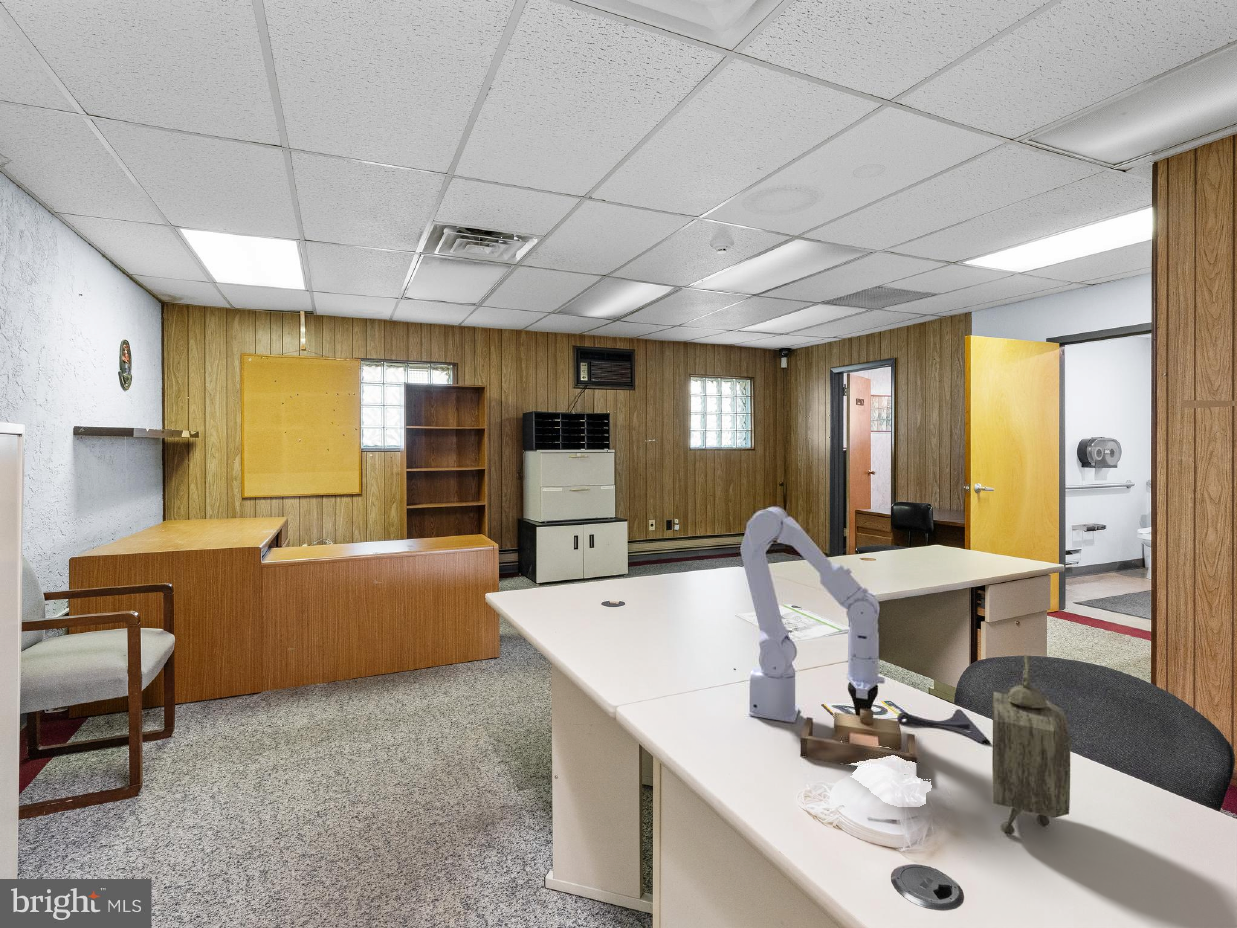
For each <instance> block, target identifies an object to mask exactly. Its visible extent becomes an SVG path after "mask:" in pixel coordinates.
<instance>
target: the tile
mask: <svg viewBox="0 0 1237 928" xmlns="http://www.w3.org/2000/svg"><path fill="white" fill-rule="evenodd" d="M850 743H853V744H858V745H864V746H870V747H876V748H879V745H878V736H875V735H869V734H862V733H855V732H850Z"/></svg>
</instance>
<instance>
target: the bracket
mask: <svg viewBox="0 0 1237 928" xmlns="http://www.w3.org/2000/svg"><path fill="white" fill-rule="evenodd" d="M904 719H905V721H903V720H904ZM896 721H899V723H900V725H907V726H916V727H917V726H919V727H932V728H933V727H934V728H939V729H944V730H947V731H950V732H953V733H956V734H958V735H962V736H964V737H966V738H968V739H970V740H972V741H974V742H975V743H978V744H981V745H984V744H983V742H985V743H986V745H988V746H990V745H991V741H990V740H989V738H987V736H986V735H985V734H984V733H983V732H982V731H981V730H980V729H979V728H978V727H977V726H976V724H974V722H973V721H972V720H971V718H969V717H968V716H967V714H966V713H965V712H964V711H962V710H961V709H960V708H959V709H958V708H957V709H956V710H955V711H954V713H953V715H952V716H951V717H949V718H947V719H945V720H933V719H928V718H922V717H920V716H916V715H912V714H909V713H907V712H905V711H904V712H900V713H899V714H898V715H897V718H896ZM967 730H968V731H967Z"/></svg>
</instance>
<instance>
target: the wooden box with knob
mask: <svg viewBox="0 0 1237 928" xmlns="http://www.w3.org/2000/svg"><path fill="white" fill-rule="evenodd" d="M850 732H855V733H862V734H869V735H875V736H878V745H879V746H882V747H889V748H891V749H890V750H892V749H895V750H894V751H899V750H901V751H902V729H901V724H900V723H899V721H898V720H891V719H886V718H878V717H874V710H873V709H872V708H871V709H868V708H861V709H860V716H858V715H856V714H851V713H850V714H849V713H841V712H834V716H833V740H835V741H842V742H847V743H850Z"/></svg>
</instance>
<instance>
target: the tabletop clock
mask: <svg viewBox="0 0 1237 928" xmlns="http://www.w3.org/2000/svg"><path fill="white" fill-rule="evenodd" d="M1022 661H1023V673H1022V674H1023V675H1022V677H1021V678H1022V681H1021V683H1022V685H1021V684H1020V685H1015V686H1013V687H1012V688H1010V689H1009V691H1007V693H1002V692H996V691H993V693H992V696H993V697H992V767H991V768H992V771H991V772H992V795H993V796H992V801H993V804H995V805H999V806H1004V807H1008V808H1010V809H1011V811H1010V815H1009V818H1008V821H1004V822H1002V824H1001V825H1000V829H1001V831H1002V833H1004V834H1006V835H1009V836H1011V835H1013V833H1014V832H1015V827H1014V825H1013V824H1014V822H1015V820H1016V819H1017V817H1018V815H1019V814H1020V813H1021V812H1028V813H1032V814H1035V815H1036V822H1037V823H1038V824H1039V825H1040V826H1042V827H1048V826H1049V825H1050V819H1049V818H1051V819H1055V818H1059V817H1063V816H1066V815H1070V806H1071V805H1070V804H1071V801H1070V800H1071V733H1070V729H1069V726H1068V722H1067V718H1066V716H1065V715H1066V714H1065V713H1064V710H1063V709H1062V708H1060V707H1059V706H1058V705H1055V704H1053V703H1052V702H1050V701H1049V700H1046V698H1045V696H1044V695H1043V694H1042V693H1041V691H1039V690H1038V689H1037V688H1035V687H1033V686H1031V681H1032V679H1031V661H1030V657H1029V656H1028V655H1026V654H1025V655H1023V660H1022Z"/></svg>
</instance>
